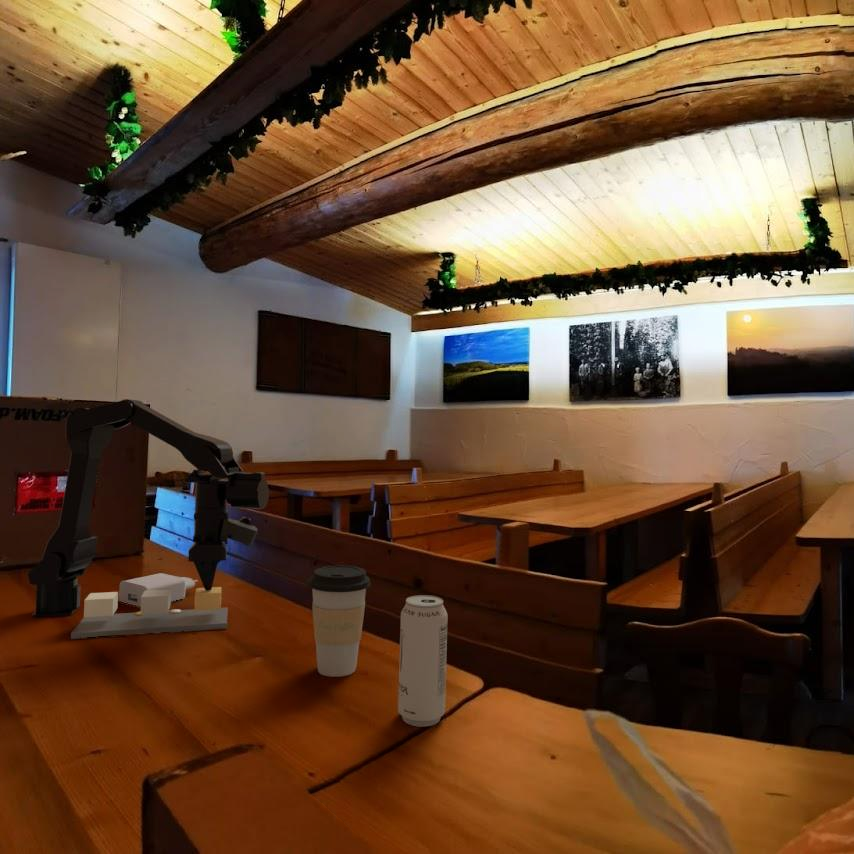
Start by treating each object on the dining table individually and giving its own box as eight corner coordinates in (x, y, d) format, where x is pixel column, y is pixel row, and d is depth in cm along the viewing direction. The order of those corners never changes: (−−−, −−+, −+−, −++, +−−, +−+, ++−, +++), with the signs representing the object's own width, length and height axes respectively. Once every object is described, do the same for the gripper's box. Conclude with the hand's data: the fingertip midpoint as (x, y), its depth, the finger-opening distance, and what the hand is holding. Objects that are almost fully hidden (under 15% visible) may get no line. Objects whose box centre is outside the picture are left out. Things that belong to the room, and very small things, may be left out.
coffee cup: (316, 686, 85) (319, 580, 85) (298, 662, 93) (301, 566, 93) (377, 675, 89) (380, 575, 89) (355, 654, 97) (357, 562, 98)
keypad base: (70, 639, 100) (71, 632, 100) (85, 621, 110) (85, 614, 110) (226, 628, 108) (226, 622, 108) (227, 612, 118) (227, 606, 118)
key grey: (140, 613, 106) (141, 597, 106) (144, 606, 110) (144, 590, 111) (167, 612, 108) (168, 595, 108) (170, 605, 112) (171, 589, 112)
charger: (208, 594, 131) (146, 610, 118) (180, 587, 135) (118, 603, 122) (209, 572, 131) (147, 587, 118) (181, 567, 136) (119, 580, 123)
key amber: (194, 610, 109) (194, 594, 109) (196, 603, 113) (196, 588, 113) (220, 609, 110) (220, 593, 110) (221, 602, 115) (221, 586, 115)
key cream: (83, 617, 103) (84, 599, 104) (89, 609, 108) (90, 593, 108) (112, 615, 105) (113, 598, 105) (117, 608, 109) (118, 591, 109)
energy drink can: (399, 705, 79) (402, 593, 80) (444, 707, 79) (447, 594, 79) (395, 727, 73) (399, 606, 74) (444, 730, 73) (448, 608, 73)
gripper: (256, 513, 106) (254, 601, 105) (254, 500, 123) (251, 576, 123) (189, 513, 102) (186, 604, 102) (197, 501, 120) (194, 578, 120)
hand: (208, 589), depth 112 cm, fingers closed
